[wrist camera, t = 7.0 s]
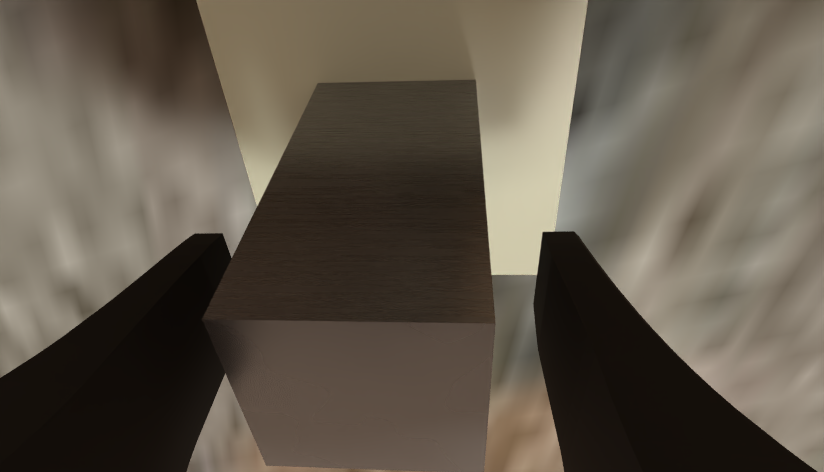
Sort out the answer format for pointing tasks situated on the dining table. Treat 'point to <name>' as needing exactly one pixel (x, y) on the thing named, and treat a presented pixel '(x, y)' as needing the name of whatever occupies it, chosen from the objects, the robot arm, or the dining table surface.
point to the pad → (415, 61)
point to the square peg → (367, 286)
